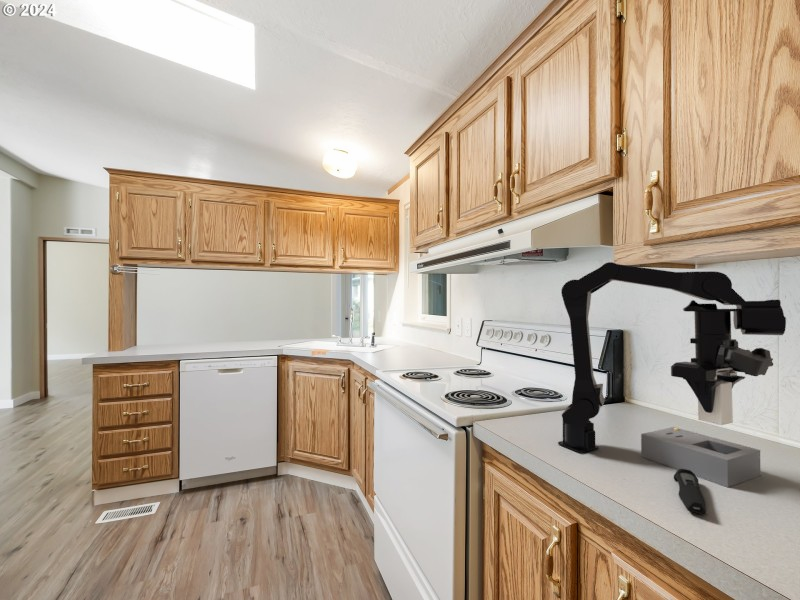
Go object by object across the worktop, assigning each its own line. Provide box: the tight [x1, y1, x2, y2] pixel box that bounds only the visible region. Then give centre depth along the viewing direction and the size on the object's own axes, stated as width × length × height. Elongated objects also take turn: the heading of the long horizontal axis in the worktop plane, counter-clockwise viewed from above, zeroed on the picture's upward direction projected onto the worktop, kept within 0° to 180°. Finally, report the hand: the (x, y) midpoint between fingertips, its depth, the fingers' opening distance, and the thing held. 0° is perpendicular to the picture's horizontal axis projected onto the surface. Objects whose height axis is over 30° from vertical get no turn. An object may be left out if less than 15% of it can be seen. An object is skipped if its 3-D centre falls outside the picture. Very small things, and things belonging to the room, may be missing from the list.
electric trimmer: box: [673, 469, 707, 515], centre depth 67 cm, size 4×16×3 cm, turn 149°
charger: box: [697, 381, 734, 426], centre depth 77 cm, size 4×4×8 cm
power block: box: [640, 426, 762, 488], centre depth 80 cm, size 16×12×5 cm
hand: (714, 411), depth 77 cm, fingers closed on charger, 4 cm apart
